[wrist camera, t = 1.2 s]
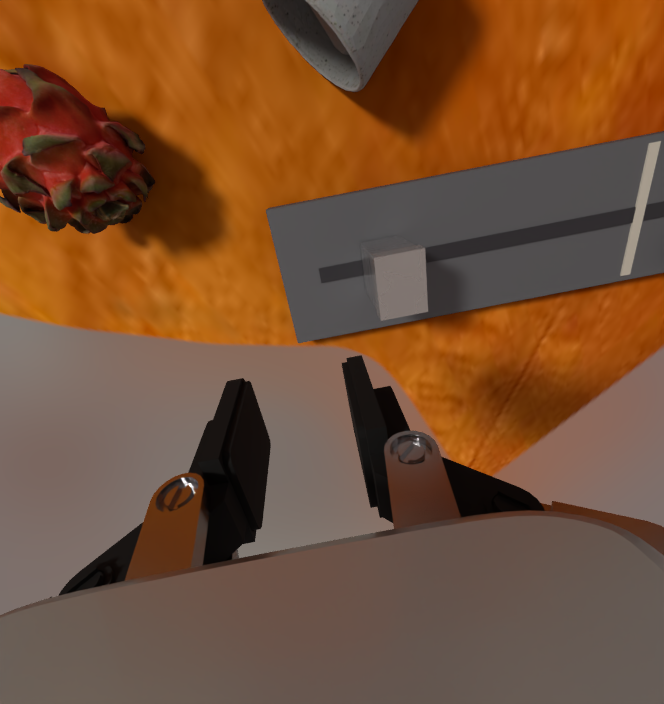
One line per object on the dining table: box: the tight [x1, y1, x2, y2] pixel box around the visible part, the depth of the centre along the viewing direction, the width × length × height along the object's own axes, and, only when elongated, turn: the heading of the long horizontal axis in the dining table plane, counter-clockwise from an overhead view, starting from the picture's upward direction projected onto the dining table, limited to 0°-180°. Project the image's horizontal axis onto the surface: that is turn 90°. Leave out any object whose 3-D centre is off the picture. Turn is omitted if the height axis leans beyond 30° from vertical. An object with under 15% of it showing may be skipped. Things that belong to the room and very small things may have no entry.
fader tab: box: [360, 235, 428, 321], centre depth 25 cm, size 4×3×6 cm
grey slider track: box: [266, 131, 664, 343], centre depth 28 cm, size 11×36×4 cm, turn 100°
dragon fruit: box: [0, 64, 155, 234], centre depth 21 cm, size 8×8×12 cm
